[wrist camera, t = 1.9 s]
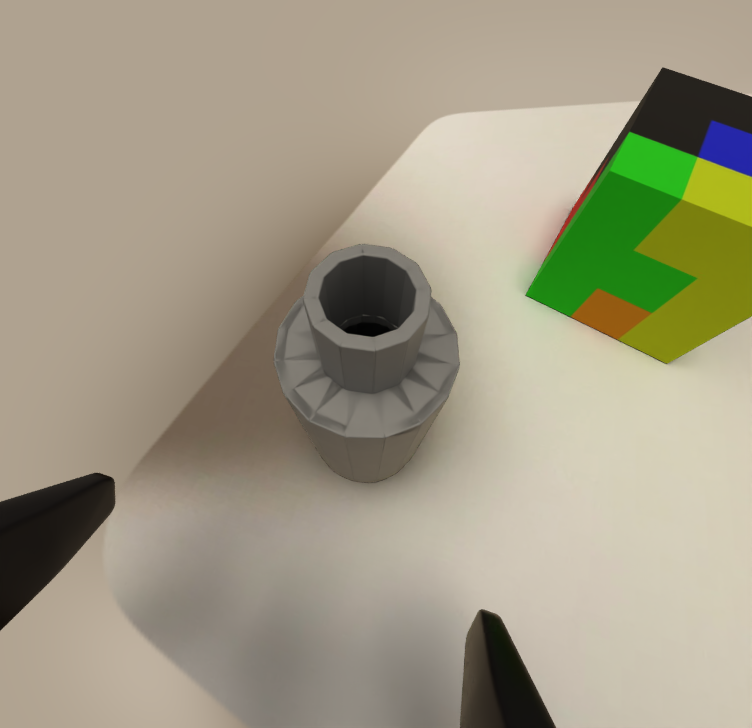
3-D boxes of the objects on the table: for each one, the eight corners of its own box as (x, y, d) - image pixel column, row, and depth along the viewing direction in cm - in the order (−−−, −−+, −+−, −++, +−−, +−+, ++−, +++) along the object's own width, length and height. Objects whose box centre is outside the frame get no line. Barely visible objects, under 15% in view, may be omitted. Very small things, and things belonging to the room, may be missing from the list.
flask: (335, 499, 21) (286, 446, 8) (303, 402, 23) (224, 239, 10) (433, 459, 22) (530, 355, 9) (393, 370, 24) (425, 185, 11)
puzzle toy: (699, 261, 28) (859, 132, 19) (666, 363, 25) (845, 264, 15) (572, 208, 30) (662, 67, 21) (525, 295, 26) (609, 170, 17)
